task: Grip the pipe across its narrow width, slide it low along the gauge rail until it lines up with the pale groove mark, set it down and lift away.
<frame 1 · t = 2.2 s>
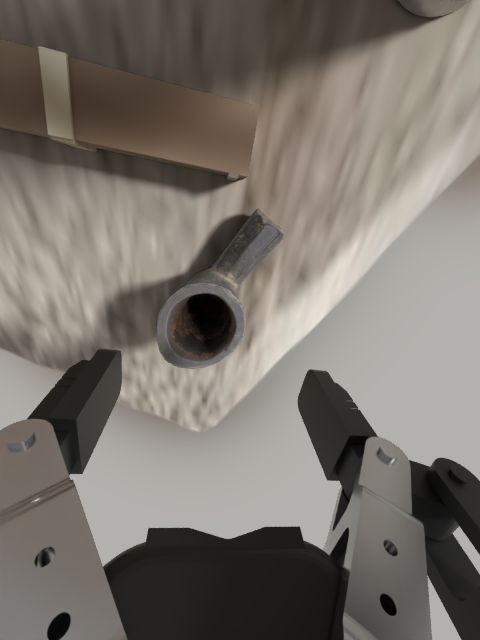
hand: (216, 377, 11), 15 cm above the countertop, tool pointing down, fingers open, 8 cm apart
gauge rail: (114, 120, 19), on the countertop
pipe: (220, 271, 25), on the countertop
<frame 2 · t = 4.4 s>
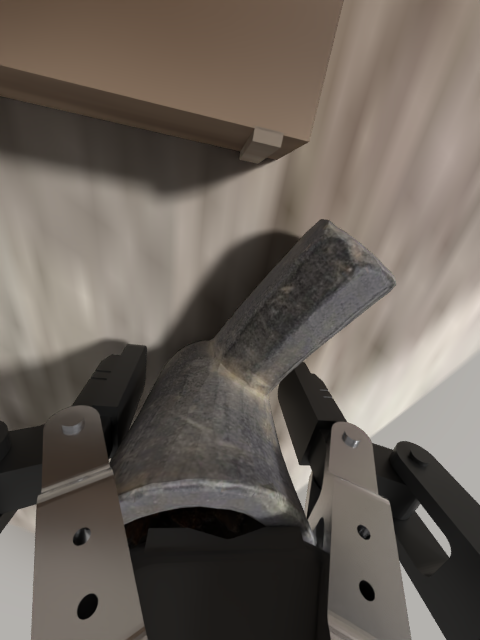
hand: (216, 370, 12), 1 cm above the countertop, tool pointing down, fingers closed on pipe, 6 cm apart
pipe: (228, 338, 13), on the countertop, touching gripper
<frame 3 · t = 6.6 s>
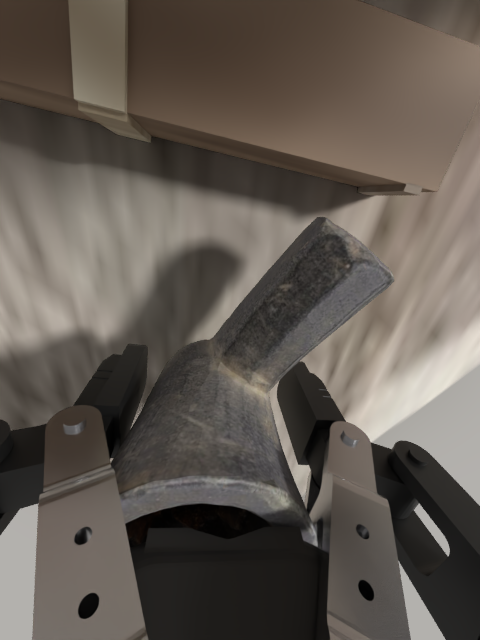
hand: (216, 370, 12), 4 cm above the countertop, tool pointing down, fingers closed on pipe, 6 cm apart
gauge rail: (186, 85, 10), on the countertop
pipe: (228, 337, 13), point 3 cm above the countertop, touching gripper
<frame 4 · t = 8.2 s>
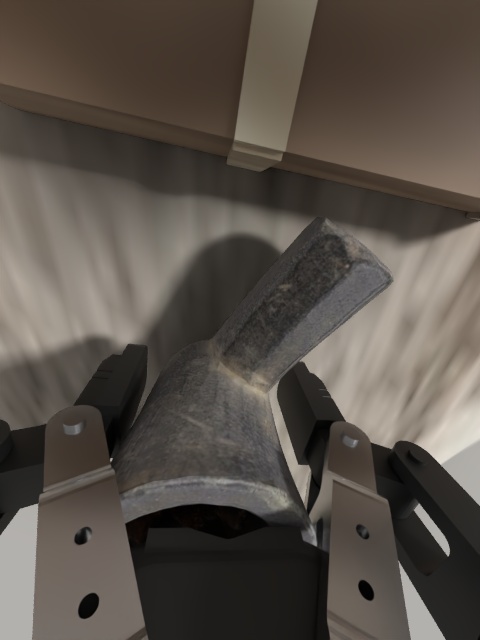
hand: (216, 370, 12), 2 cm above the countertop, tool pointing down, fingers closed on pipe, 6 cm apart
gauge rail: (306, 112, 10), on the countertop
pipe: (227, 338, 13), point 1 cm above the countertop, touching gripper
when the fingers open (2 cm above the countertop, at t = 8.9 s): pipe moves 1 cm, on the countertop.
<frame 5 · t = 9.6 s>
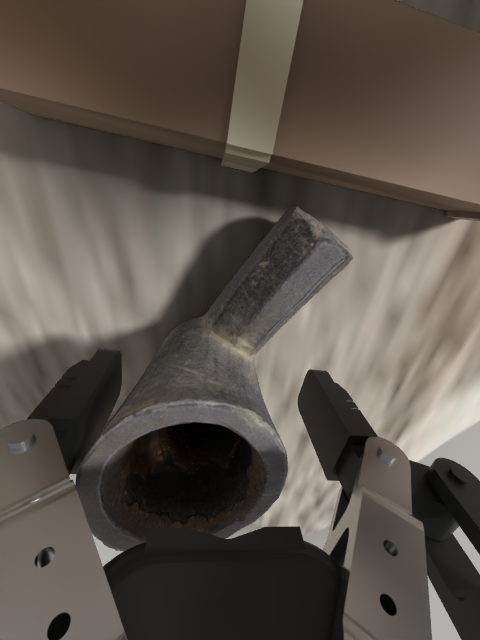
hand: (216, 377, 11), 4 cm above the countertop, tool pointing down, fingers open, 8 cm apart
gauge rail: (294, 117, 11), on the countertop
pipe: (219, 316, 14), on the countertop, touching gripper
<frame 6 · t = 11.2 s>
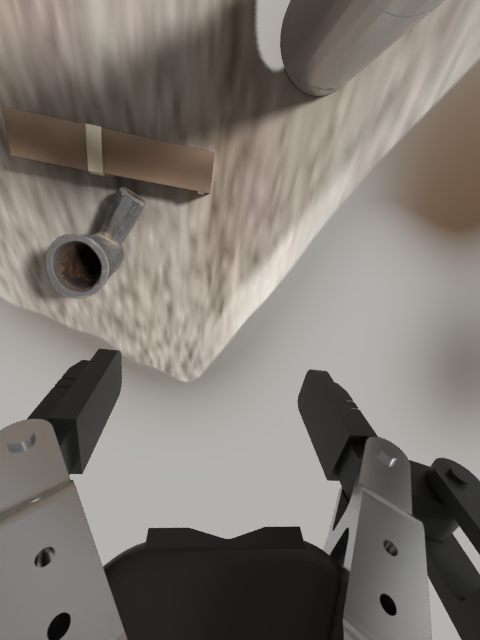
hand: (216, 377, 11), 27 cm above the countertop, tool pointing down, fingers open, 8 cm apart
gauge rail: (125, 158, 30), on the countertop
pipe: (113, 237, 33), on the countertop
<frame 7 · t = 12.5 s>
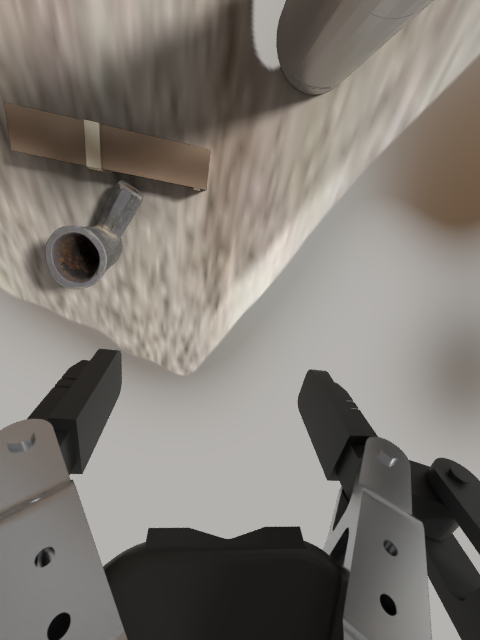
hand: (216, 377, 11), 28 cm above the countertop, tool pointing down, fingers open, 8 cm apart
gauge rail: (123, 154, 30), on the countertop
pipe: (113, 230, 34), on the countertop
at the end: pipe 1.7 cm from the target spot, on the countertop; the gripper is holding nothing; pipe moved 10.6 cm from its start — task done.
